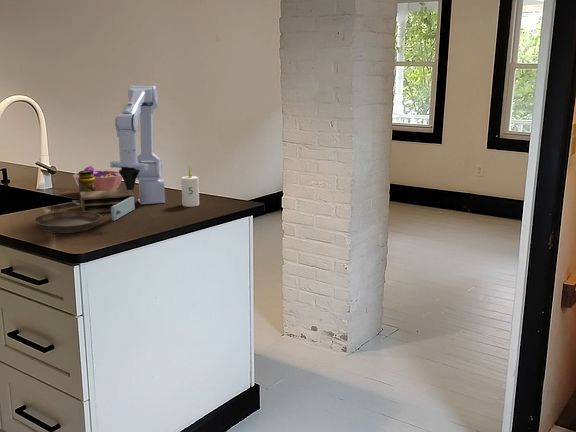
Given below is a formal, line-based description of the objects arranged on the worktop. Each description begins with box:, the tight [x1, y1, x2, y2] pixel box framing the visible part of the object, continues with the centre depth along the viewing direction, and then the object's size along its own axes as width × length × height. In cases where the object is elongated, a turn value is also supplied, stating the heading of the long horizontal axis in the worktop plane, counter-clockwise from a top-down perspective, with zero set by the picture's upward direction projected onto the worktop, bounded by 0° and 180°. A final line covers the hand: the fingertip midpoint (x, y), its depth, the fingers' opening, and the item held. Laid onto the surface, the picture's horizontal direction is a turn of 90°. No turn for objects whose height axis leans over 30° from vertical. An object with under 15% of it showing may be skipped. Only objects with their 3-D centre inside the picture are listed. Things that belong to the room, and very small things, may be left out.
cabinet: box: [79, 188, 136, 213], centre depth 223 cm, size 18×11×6 cm, turn 111°
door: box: [110, 196, 136, 221], centre depth 213 cm, size 18×2×5 cm, turn 171°
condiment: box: [72, 170, 96, 206], centre depth 233 cm, size 7×8×12 cm
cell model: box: [72, 165, 123, 191], centre depth 247 cm, size 17×20×11 cm
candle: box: [180, 164, 200, 208], centre depth 229 cm, size 6×6×15 cm
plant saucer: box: [34, 210, 103, 234], centre depth 199 cm, size 21×21×3 cm
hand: (130, 189), depth 208 cm, fingers closed
